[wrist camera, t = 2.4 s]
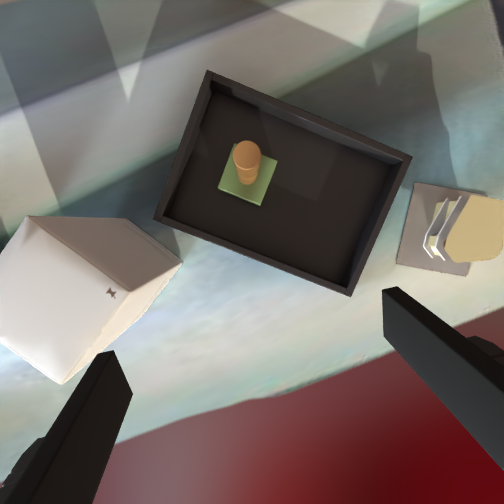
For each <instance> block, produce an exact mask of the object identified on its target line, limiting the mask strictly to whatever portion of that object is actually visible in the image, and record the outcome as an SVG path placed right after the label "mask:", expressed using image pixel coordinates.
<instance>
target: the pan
mask: <svg viewBox="0 0 504 504" xmlns="http://www.w3.org/2000/svg"><path fill="white" fill-rule="evenodd" d="M242 141H252V142H254V143H256V144H257V145H258V147H259V148H260V151H261V154H262V155H264V156H267V157H269V158H272V159H274V160H277V161H278V162H277V164H276V167H275V170H274V172H273V175H272V177H271V180H270V182H269V185H268V187H267V190H266V192H265V195H264V197H263V200H262V202H261V205H260V206H258V205H256V204H253V203H251V202H248V201H246V200H243V199H241V198H238V197H236V196H233V195H231V194H228V193H226V192H223V191H221V190H220V189H219V188H218V185H219V182H220V180H221V177H222V174H223V172H224V169H225V166H226V164H227V161H228V159H229V156H230V153H231V151H232V148H233V145H234V143H235V144H238V143H240V142H242ZM411 160H412V156H410V155H408V154H405V153H403V152H401V151H398V150H396V149H393V148H391V147H389V146H386V145H384V144H382V143H379V142H377V141H375V140H372V139H370V138H367V137H365V136H363V135H360V134H358V133H356V132H353V131H351V130H349V129H346V128H344V127H342V126H339V125H337V124H334V123H332V122H330V121H327V120H325V119H323V118H320V117H318V116H316V115H313V114H311V113H308V112H306V111H304V110H301V109H299V108H297V107H294V106H292V105H290V104H287V103H285V102H282V101H280V100H278V99H275V98H273V97H271V96H268V95H266V94H264V93H261V92H259V91H256V90H254V89H252V88H249V87H247V86H245V85H242V84H240V83H238V82H235V81H233V80H231V79H228V78H226V77H223V76H221V75H219V74H216V73H214V72H212V71H209V70H207V71H206V74H205V76H204V79H203V82H202V85H201V87H200V90H199V93H198V96H197V99H196V101H195V104H194V107H193V110H192V112H191V115H190V118H189V121H188V124H187V126H186V129H185V132H184V135H183V137H182V140H181V143H180V146H179V149H178V151H177V154H176V157H175V160H174V162H173V165H172V168H171V171H170V174H169V176H168V179H167V182H166V185H165V187H164V190H163V193H162V196H161V199H160V201H159V204H158V207H157V210H156V213H155V215H154V218H153V220H155V221H158V222H161V223H163V224H165V225H168V226H171V227H173V228H176V229H178V230H181V231H183V232H186V233H188V234H191V235H193V236H196V237H199V238H201V239H204V240H206V241H209V242H211V243H214V244H216V245H219V246H221V247H224V248H227V249H229V250H232V251H234V252H237V253H239V254H242V255H244V256H247V257H249V258H252V259H255V260H257V261H260V262H262V263H265V264H267V265H270V266H272V267H275V268H277V269H280V270H283V271H285V272H288V273H290V274H293V275H295V276H298V277H300V278H303V279H305V280H308V281H311V282H313V283H316V284H318V285H321V286H323V287H326V288H328V289H331V290H334V291H336V292H339V293H341V294H344V295H346V296H349V297H351V296H352V294H353V291H354V289H355V287H356V284H357V282H358V280H359V278H360V275H361V273H362V271H363V269H364V266H365V264H366V262H367V259H368V257H369V255H370V253H371V250H372V248H373V246H374V244H375V241H376V239H377V237H378V235H379V232H380V230H381V228H382V225H383V223H384V221H385V219H386V216H387V214H388V212H389V210H390V207H391V205H392V203H393V201H394V198H395V196H396V194H397V191H398V189H399V187H400V185H401V182H402V180H403V178H404V176H405V173H406V171H407V169H408V167H409V164H410V162H411Z"/></svg>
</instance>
